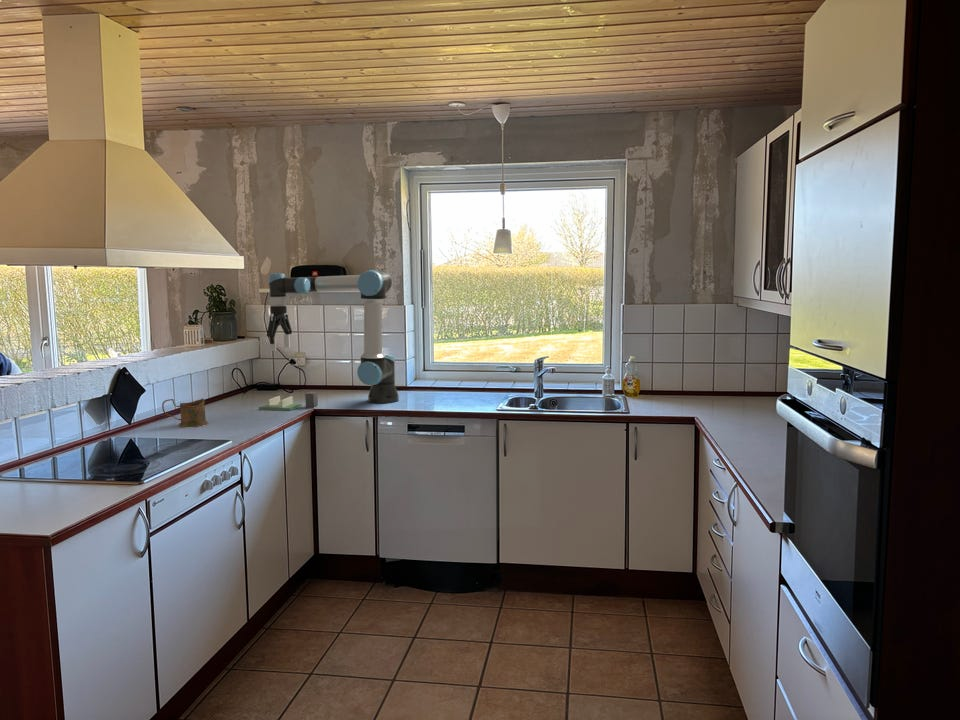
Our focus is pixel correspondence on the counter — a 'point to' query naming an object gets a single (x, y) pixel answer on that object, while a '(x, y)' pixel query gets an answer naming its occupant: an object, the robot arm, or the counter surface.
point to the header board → (280, 404)
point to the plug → (311, 399)
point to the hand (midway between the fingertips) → (280, 349)
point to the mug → (191, 413)
